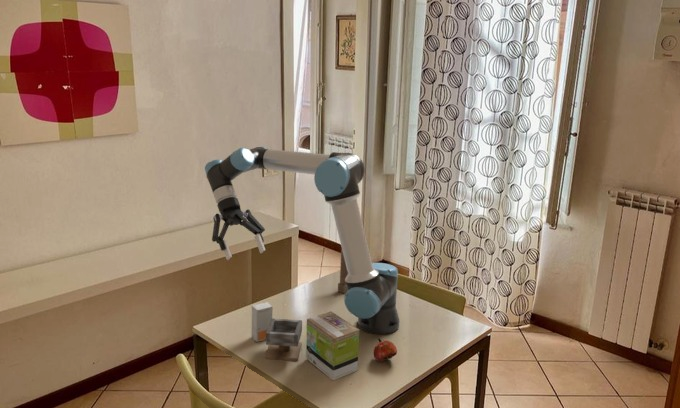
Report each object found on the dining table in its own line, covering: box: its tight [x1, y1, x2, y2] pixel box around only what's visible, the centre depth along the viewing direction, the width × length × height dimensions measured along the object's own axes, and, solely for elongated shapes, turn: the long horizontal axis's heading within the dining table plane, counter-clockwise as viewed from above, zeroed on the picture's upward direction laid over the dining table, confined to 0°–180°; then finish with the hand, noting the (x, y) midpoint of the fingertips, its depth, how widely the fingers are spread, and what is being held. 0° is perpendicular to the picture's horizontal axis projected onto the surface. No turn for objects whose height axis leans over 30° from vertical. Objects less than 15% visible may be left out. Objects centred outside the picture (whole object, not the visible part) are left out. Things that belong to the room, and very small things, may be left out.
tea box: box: [305, 310, 360, 381], centre depth 172 cm, size 15×10×15 cm
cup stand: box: [265, 318, 303, 362], centre depth 180 cm, size 10×10×9 cm
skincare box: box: [251, 301, 274, 343], centre depth 188 cm, size 6×4×12 cm
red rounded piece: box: [373, 337, 398, 368], centre depth 177 cm, size 7×7×10 cm
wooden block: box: [337, 249, 348, 294], centre depth 229 cm, size 4×11×18 cm, turn 135°
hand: (246, 255), depth 191 cm, fingers open, 13 cm apart
